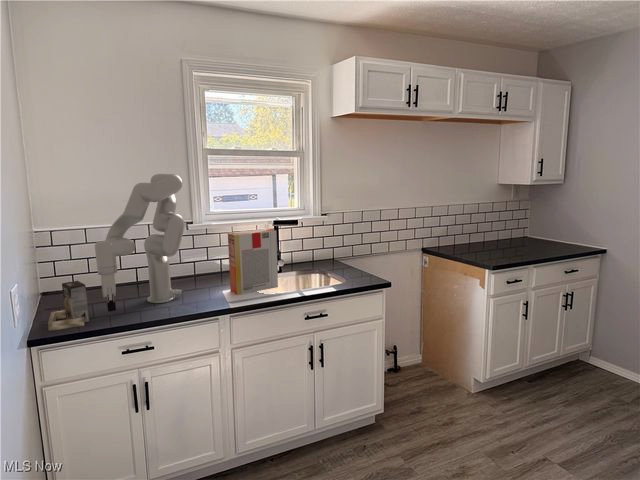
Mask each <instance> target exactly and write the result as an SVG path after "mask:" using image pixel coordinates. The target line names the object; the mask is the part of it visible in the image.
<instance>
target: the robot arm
mask: <svg viewBox="0 0 640 480" xmlns="http://www.w3.org/2000/svg"><path fill="white" fill-rule="evenodd" d="M182 188H183V180H182V178H181V177H180V176H179V175H178V174H175V173H172V174H171V173H157V174H154V175H153V176H151V177H150V182H139V183H136V184H135V185H134V186H133V187H132V190H131V193H130V196H129V198H128V201H127V203H126V205H125V208H124V211H123V212H122V214H121V215H120V216H118V217H117V218H116V220H115V221H114V222H113V223H112V224H111V226H110V228H109V230H108V233H107V235H106V237H105V240H100V241H97V242H95V244H94V250H95V251H94V252H95V260H96V269H97V275H98V276H100V280H101V281H100V282H101V283H100V284H101V290H102V298H103V299H105V298H107V299H106V305H107V312H116V311H117V307H116V304H117V303H116V300H115V297H116V295H117V291H116V286H117V285H116V276H115V274H117V273H118V266H117V265H118V264H117V257H123V256H129V255H131V254H132V253H134V251H135V250H136V244H135V242H134V240H132V239H130V238H128V237H124V236H125V234H126V233H127V231H128V230H130V228H131V227H133V226H135V225H136V224H139V223H141V222H142V221H143V220H144V218H145V215H146V213H147V210H148V207H149V205H150V203H156V207H155V213H154V215H153V216H154V217H153V220H152V227H153V229H154V230H155V231H157V232H160V233H164V234H160V233H159V234H157V233H156V234H155V233H154V234H150V235H148V236H147V237H146V238H145V240H144V242H143V243H144V244H143V245H144V246H143V247H144V251H145V254H146V259H147V268H148V281H149V293H150V295H149V296H148V297H147V298H146V299H147V302H149V303H150V304H151V303H152V304H163V303H164V304H165V303H168V302H171V301H173V300H175V298H176V295H181V294H182V289H178V288H176V289H173V288H172V283H171V282H172V281H171V270H170V260H169V258H170V257H174V256H175V255H177V253H179V252H178V251H179V250H180V247H181V243H182V241H183V240H182V238H183V236H184V235H183V234H184V230H185V220H184V218H183V217H182V215H180V214H179V213H176V207H177V198H176V195H175V194H177V193H179V191H180V190H181V189H182Z"/></svg>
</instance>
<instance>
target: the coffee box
mask: <svg viewBox="0 0 640 480" xmlns="http://www.w3.org/2000/svg"><path fill="white" fill-rule="evenodd" d="M86 286H87V285H86V284H85V283H83V282H80V281H79V280H74V281H67V282H63V283H61V288H62V294H63V295H62V296H63V302H64V310H65V312H66V318H65V320H68V319H75V318H82V317H84V323H87V322H89V321H90V316H89V307H88V306H89V305H88V297H87V287H86Z"/></svg>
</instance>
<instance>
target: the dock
mask: <svg viewBox="0 0 640 480" xmlns="http://www.w3.org/2000/svg"><path fill="white" fill-rule="evenodd" d="M48 318H49V319H48V322H47V327H48V332H50V331H51V332H52V331H57V330H58V331H59V330H64V329H71V328H76V327H82V326H83V327H84V326H85V322H84V317H82V318H75V319H68V320H66V312H65V309H63V310H58V311H57V310H56V311H51V312H50V316H49V317H48ZM59 319H63V320H59ZM56 320H57V321H56Z"/></svg>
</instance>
